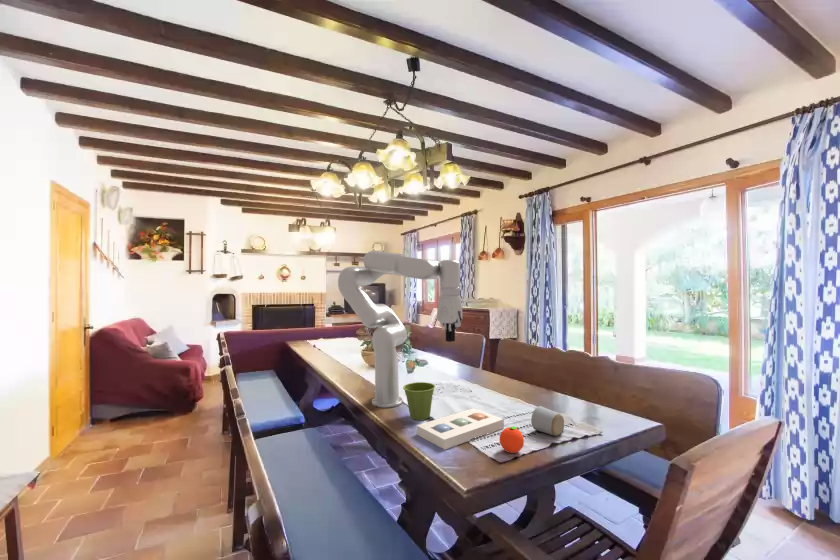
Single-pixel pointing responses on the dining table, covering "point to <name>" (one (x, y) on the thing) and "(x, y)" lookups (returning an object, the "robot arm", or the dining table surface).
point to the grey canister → (547, 421)
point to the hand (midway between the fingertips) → (450, 341)
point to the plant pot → (419, 399)
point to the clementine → (511, 439)
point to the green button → (461, 422)
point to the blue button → (442, 428)
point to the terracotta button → (478, 416)
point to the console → (459, 428)
